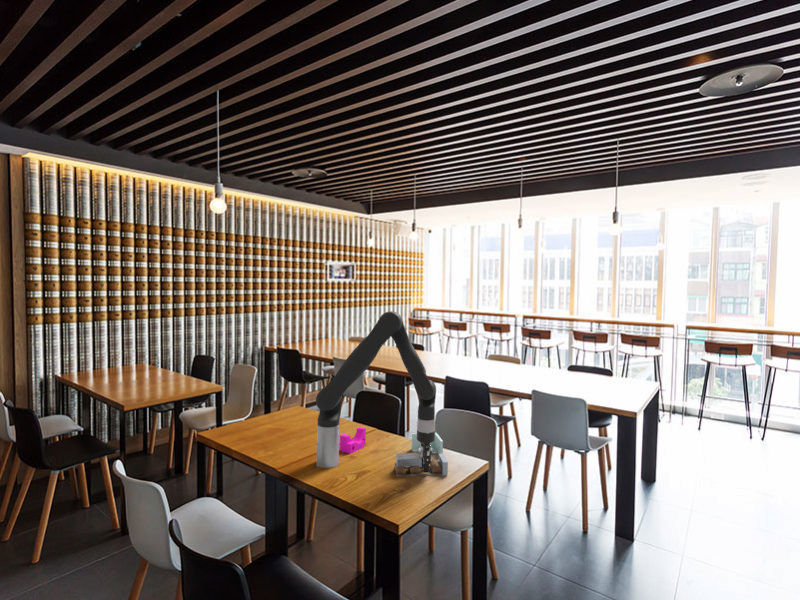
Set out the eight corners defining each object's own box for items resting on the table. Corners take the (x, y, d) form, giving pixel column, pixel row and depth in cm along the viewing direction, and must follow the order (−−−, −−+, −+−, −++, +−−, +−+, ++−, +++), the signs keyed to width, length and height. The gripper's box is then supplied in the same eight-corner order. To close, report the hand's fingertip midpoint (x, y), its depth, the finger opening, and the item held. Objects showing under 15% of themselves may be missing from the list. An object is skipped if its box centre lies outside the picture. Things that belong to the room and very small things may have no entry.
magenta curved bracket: (350, 454, 198) (350, 438, 198) (339, 451, 202) (340, 435, 201) (369, 444, 211) (369, 429, 211) (359, 441, 214) (359, 426, 214)
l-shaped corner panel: (411, 448, 207) (411, 433, 206) (435, 447, 209) (436, 432, 208) (416, 458, 195) (417, 442, 194) (442, 457, 197) (443, 441, 197)
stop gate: (442, 476, 176) (442, 462, 176) (438, 467, 185) (438, 453, 185) (447, 476, 177) (447, 462, 176) (442, 467, 185) (443, 453, 185)
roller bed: (396, 477, 175) (396, 468, 174) (394, 468, 183) (394, 459, 183) (442, 476, 177) (442, 466, 176) (438, 467, 185) (438, 458, 185)
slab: (397, 466, 176) (397, 459, 176) (395, 460, 182) (395, 453, 182) (421, 466, 177) (421, 458, 177) (419, 460, 183) (419, 453, 183)
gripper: (414, 423, 186) (413, 462, 187) (419, 435, 172) (418, 477, 173) (431, 423, 187) (430, 462, 188) (438, 434, 173) (437, 476, 173)
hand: (425, 469), depth 180 cm, fingers open, 4 cm apart
